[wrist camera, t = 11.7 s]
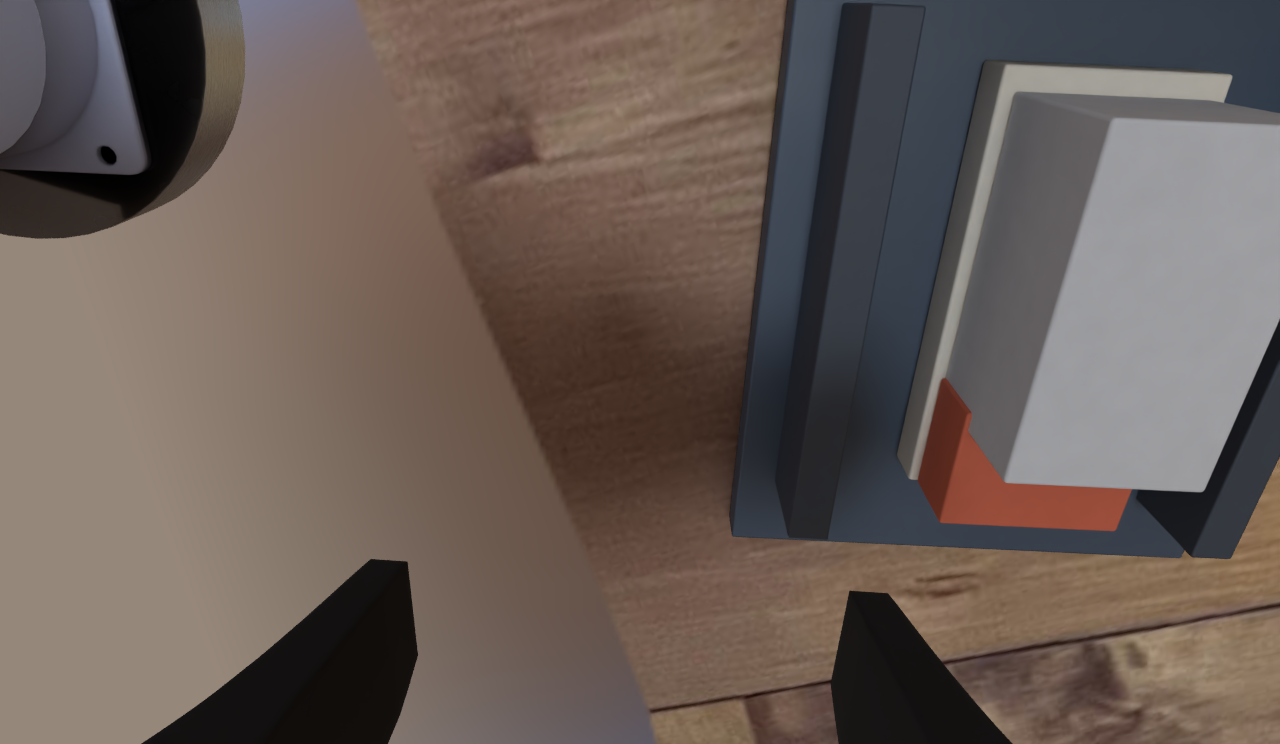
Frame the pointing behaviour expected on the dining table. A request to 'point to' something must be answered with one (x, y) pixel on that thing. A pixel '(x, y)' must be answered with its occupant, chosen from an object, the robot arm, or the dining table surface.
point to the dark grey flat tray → (910, 255)
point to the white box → (1094, 294)
